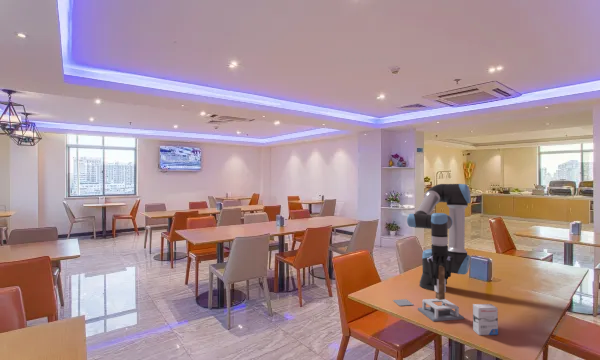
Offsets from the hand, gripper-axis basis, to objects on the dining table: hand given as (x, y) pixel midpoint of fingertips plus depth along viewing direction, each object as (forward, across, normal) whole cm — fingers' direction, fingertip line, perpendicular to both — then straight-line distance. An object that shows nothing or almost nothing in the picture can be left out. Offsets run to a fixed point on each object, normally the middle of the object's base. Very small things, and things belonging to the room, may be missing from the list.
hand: (440, 291), depth 160 cm
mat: (+11, +11, -17) cm, 23 cm away
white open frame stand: (+11, 0, 0) cm, 11 cm away
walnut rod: (+4, 0, 0) cm, 4 cm away
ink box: (+11, -8, +21) cm, 25 cm away
